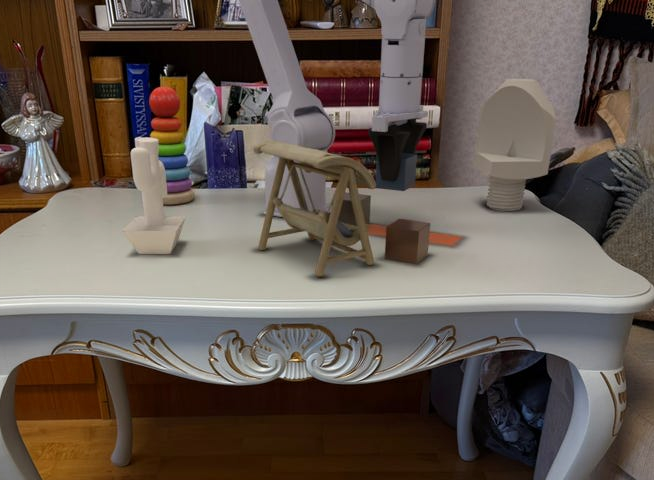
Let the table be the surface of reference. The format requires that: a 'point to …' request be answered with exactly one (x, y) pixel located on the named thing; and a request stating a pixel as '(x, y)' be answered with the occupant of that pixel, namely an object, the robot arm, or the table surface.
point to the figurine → (151, 202)
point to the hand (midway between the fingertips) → (395, 177)
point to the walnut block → (407, 241)
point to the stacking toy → (171, 145)
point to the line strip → (433, 237)
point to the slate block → (400, 174)
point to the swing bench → (315, 221)
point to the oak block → (348, 213)
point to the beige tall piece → (514, 140)
